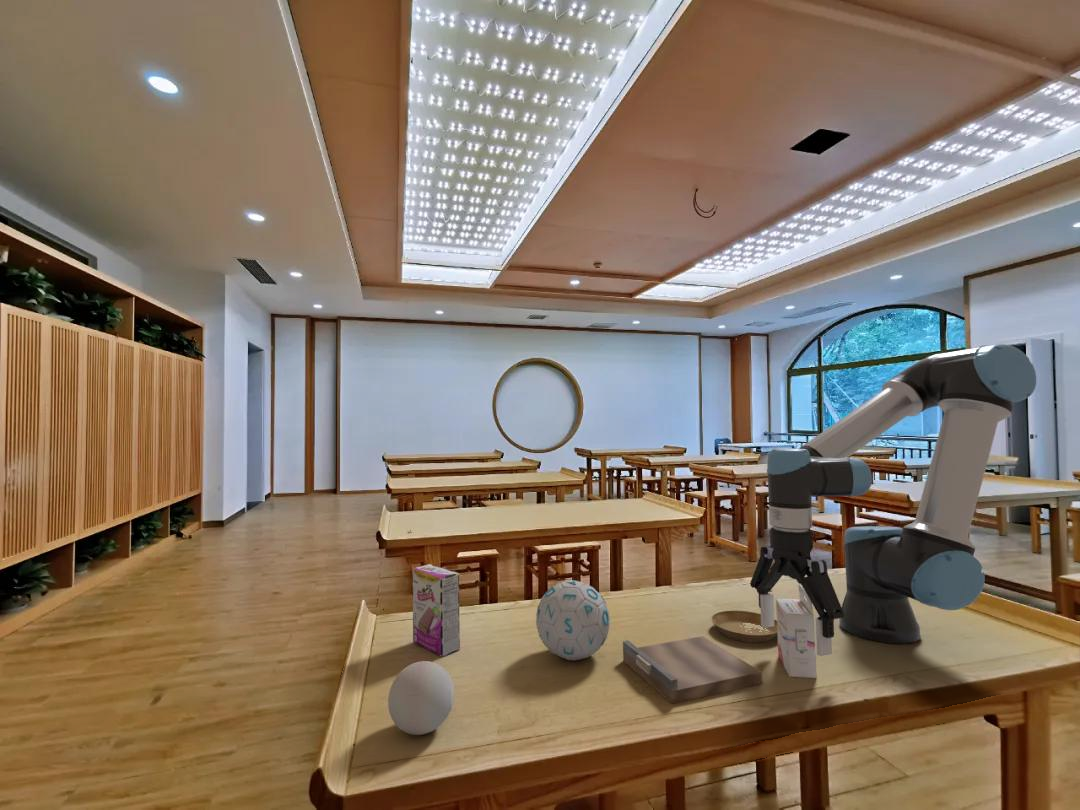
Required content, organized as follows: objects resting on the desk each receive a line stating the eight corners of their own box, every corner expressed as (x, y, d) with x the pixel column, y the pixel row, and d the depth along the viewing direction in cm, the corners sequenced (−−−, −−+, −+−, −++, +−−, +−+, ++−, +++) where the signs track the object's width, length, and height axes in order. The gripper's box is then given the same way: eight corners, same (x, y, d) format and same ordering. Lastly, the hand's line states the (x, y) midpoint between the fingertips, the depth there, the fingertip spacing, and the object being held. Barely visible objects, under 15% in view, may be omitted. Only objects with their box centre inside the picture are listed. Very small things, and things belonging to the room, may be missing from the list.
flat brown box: (702, 645, 107) (702, 627, 108) (762, 683, 91) (761, 661, 91) (620, 661, 101) (620, 641, 101) (668, 704, 85) (668, 681, 85)
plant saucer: (738, 616, 124) (738, 605, 124) (796, 636, 112) (795, 624, 112) (698, 630, 116) (697, 618, 116) (755, 653, 104) (754, 640, 104)
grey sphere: (396, 713, 84) (396, 651, 84) (458, 710, 84) (457, 649, 85) (380, 751, 74) (380, 681, 74) (450, 747, 74) (450, 678, 75)
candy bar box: (411, 643, 111) (410, 567, 112) (430, 636, 115) (429, 563, 116) (441, 658, 104) (441, 577, 104) (461, 650, 107) (460, 572, 108)
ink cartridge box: (776, 656, 102) (773, 582, 102) (803, 658, 101) (800, 583, 101) (788, 677, 93) (785, 596, 94) (817, 679, 92) (814, 597, 93)
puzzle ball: (557, 680, 94) (556, 598, 94) (525, 649, 107) (524, 577, 108) (625, 663, 100) (623, 586, 101) (586, 635, 114) (585, 568, 114)
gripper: (731, 518, 109) (733, 619, 108) (831, 543, 85) (836, 671, 84) (758, 516, 111) (761, 614, 110) (864, 539, 88) (869, 664, 87)
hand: (794, 639), depth 97 cm, fingers open, 13 cm apart
